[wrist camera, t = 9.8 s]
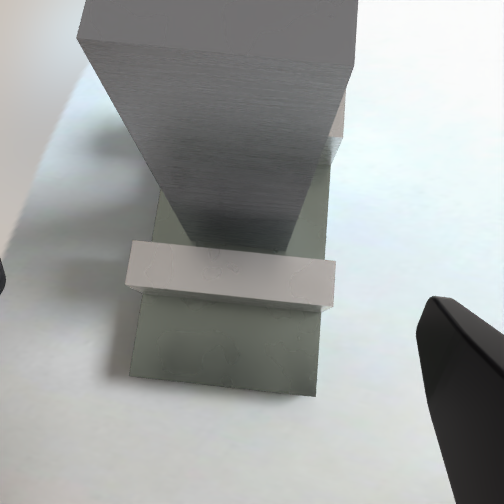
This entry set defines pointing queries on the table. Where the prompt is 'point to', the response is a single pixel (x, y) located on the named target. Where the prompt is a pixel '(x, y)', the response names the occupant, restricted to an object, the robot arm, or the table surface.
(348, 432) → the table surface
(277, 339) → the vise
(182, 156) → the steel block
